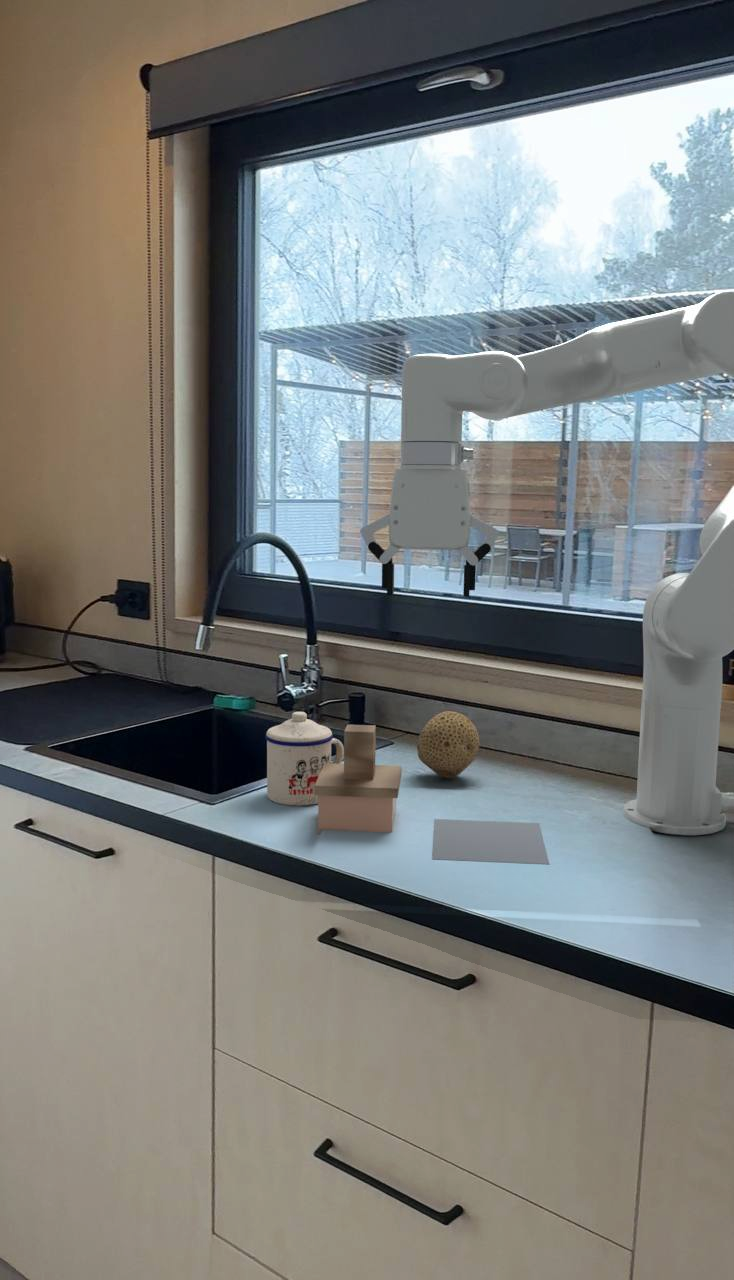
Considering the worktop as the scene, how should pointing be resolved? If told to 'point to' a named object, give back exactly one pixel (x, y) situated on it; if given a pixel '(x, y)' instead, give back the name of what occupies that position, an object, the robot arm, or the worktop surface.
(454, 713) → the natural sponge
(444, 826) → the mat
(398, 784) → the lid
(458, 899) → the worktop surface
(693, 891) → the worktop surface
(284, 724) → the teacup with lid
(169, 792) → the worktop surface
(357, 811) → the dish
